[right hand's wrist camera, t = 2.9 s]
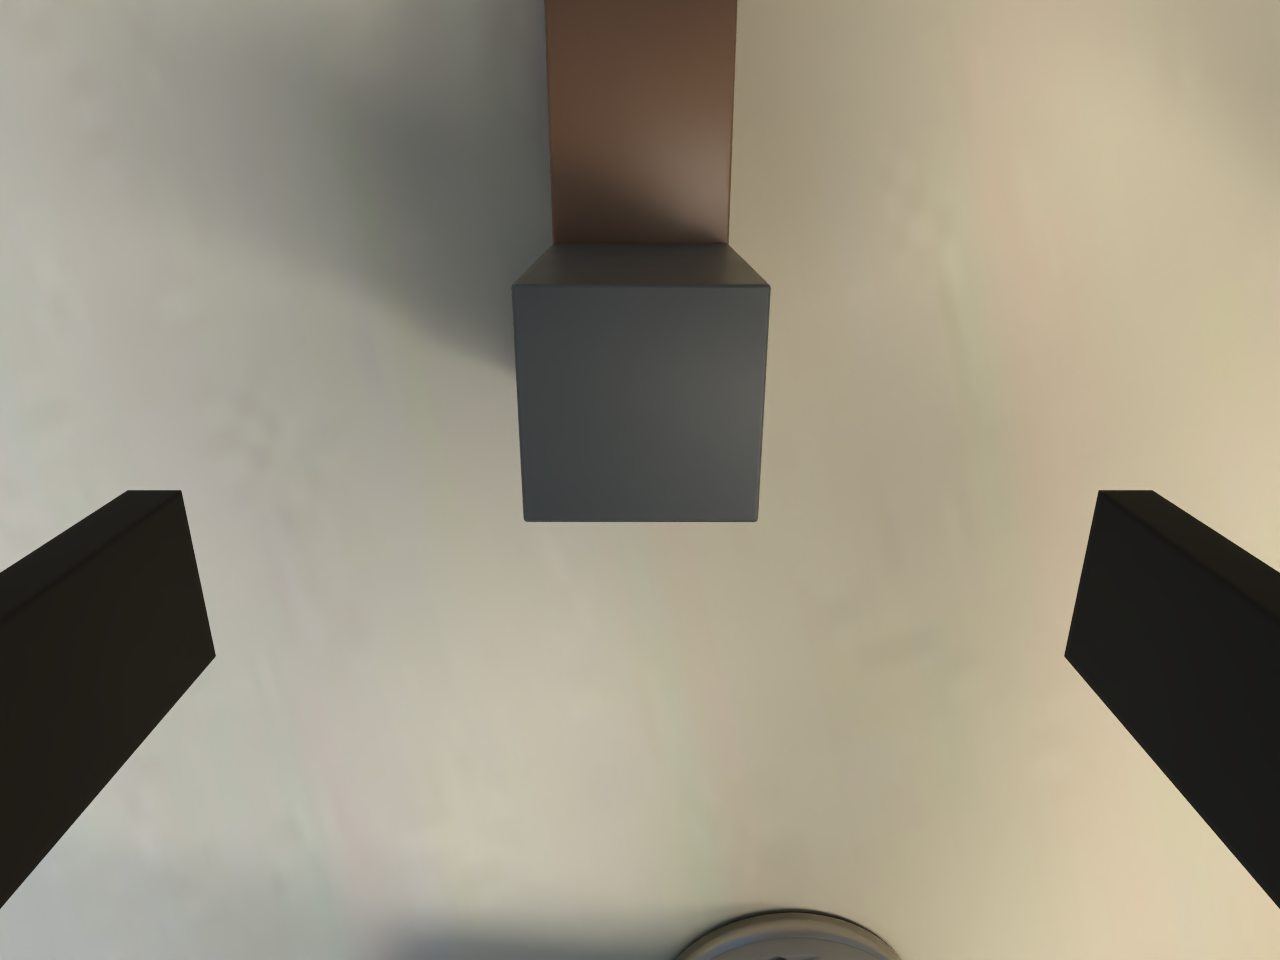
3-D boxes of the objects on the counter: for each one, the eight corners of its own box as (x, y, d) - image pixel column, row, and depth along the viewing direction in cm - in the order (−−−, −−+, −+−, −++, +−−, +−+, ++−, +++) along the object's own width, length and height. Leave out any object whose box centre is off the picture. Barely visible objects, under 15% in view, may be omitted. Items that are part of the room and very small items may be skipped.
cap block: (722, 412, 31) (758, 523, 22) (558, 412, 31) (523, 523, 22) (728, 243, 29) (771, 284, 19) (552, 243, 29) (510, 284, 19)
